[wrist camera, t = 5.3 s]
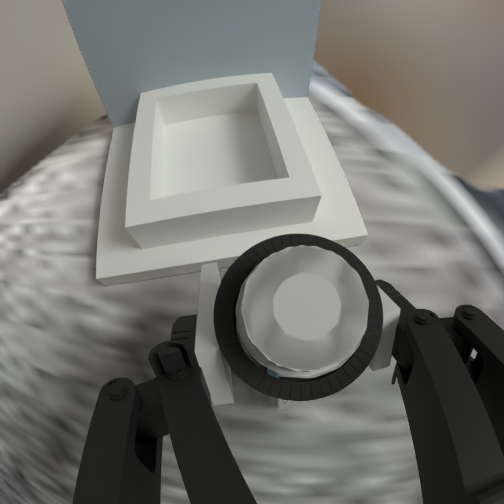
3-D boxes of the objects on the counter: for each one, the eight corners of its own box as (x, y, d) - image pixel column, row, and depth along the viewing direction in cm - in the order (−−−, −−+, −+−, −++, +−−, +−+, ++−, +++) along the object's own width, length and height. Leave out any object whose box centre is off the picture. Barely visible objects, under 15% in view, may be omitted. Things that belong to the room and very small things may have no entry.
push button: (326, 402, 15) (405, 431, 6) (237, 408, 15) (211, 454, 6) (320, 297, 18) (379, 217, 9) (234, 301, 18) (210, 221, 9)
